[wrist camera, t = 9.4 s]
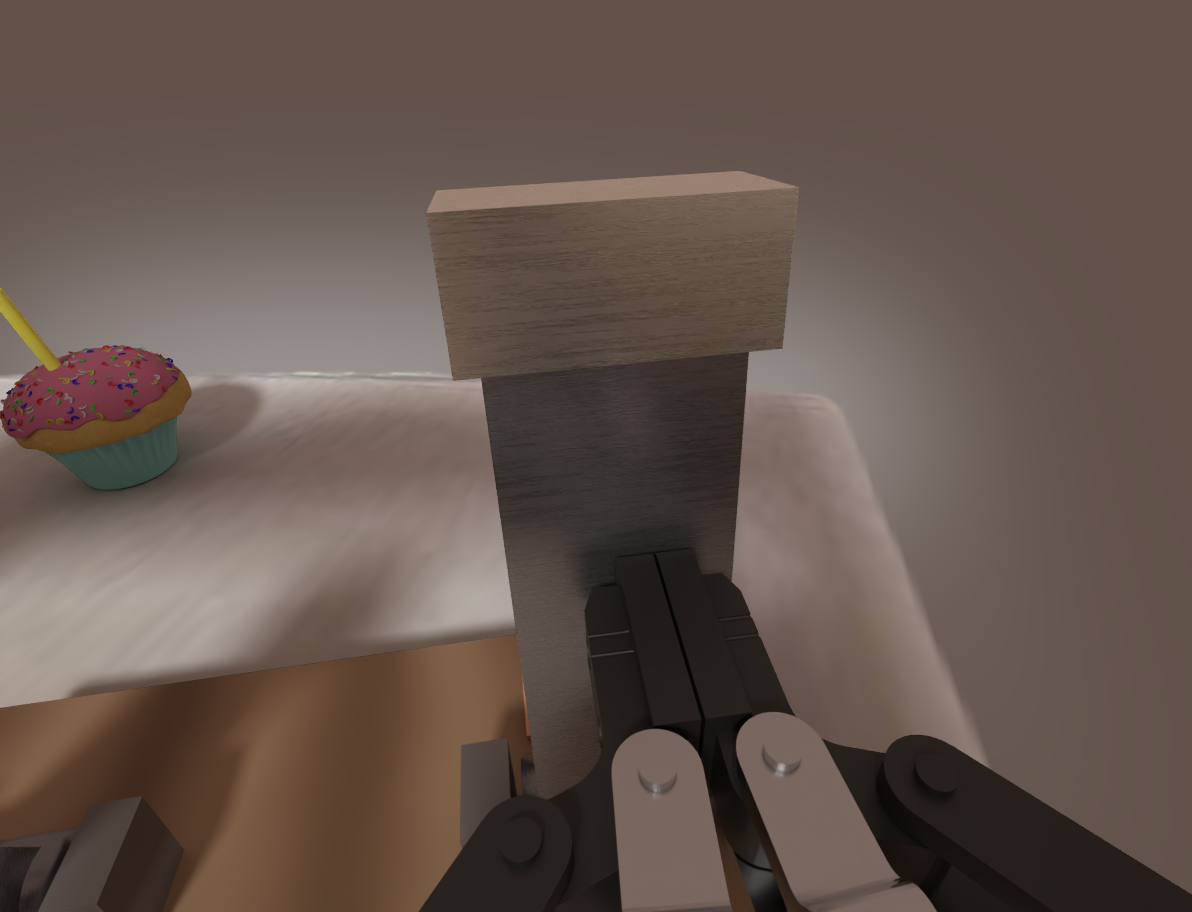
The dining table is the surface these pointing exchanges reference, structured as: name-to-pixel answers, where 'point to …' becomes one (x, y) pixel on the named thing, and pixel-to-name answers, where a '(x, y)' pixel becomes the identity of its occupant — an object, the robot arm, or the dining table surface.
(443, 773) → the switch base
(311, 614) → the dining table surface
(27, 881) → the inner lever
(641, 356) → the outer lever
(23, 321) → the cupcake
